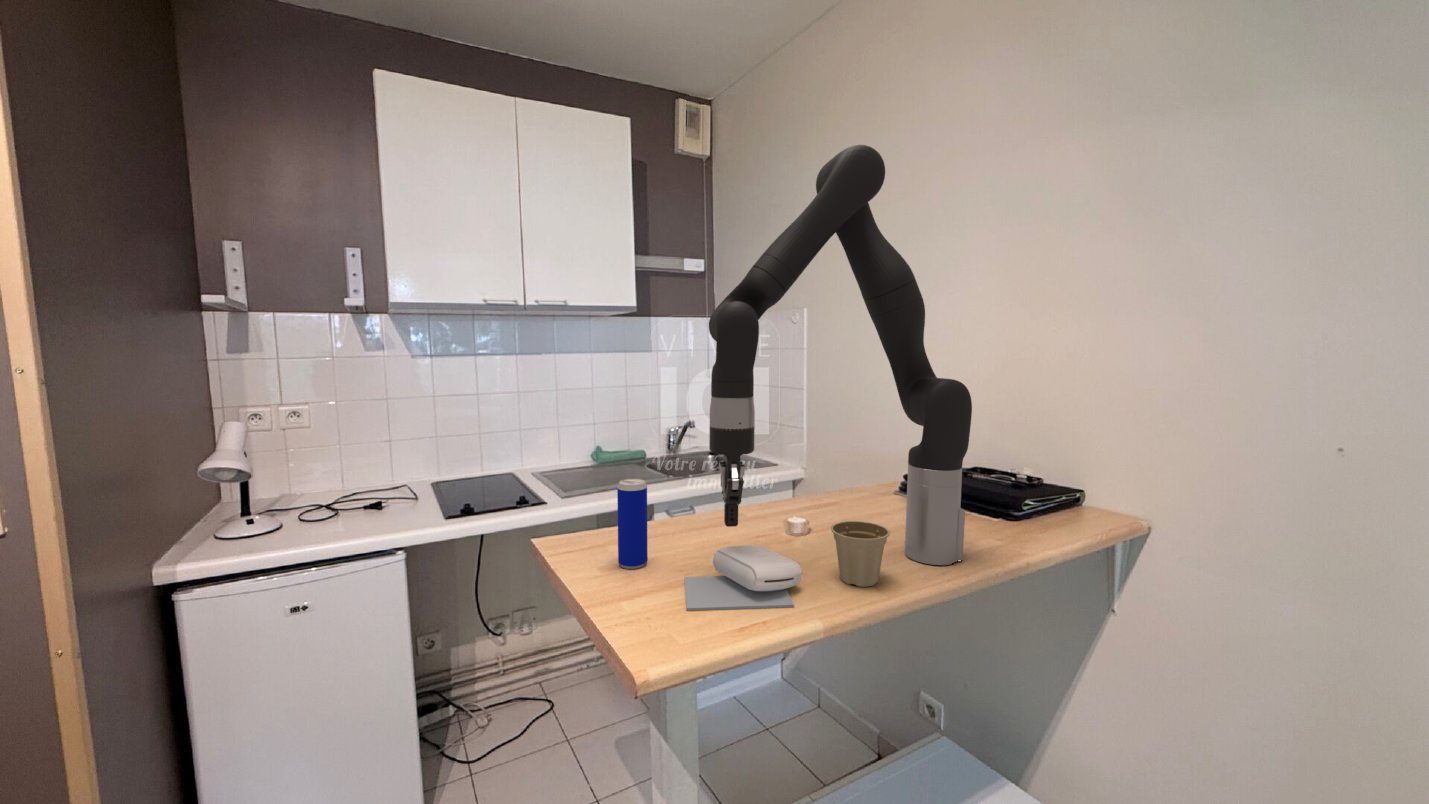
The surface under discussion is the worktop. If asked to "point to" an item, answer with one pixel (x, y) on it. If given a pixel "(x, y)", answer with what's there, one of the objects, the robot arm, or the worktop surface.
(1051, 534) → the worktop surface
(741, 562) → the photo printer
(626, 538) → the beverage can
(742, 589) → the mat
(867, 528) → the flower pot
